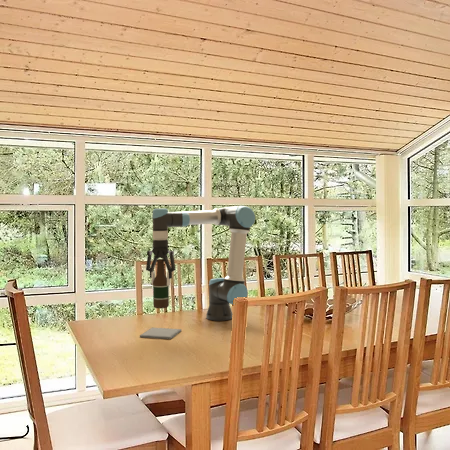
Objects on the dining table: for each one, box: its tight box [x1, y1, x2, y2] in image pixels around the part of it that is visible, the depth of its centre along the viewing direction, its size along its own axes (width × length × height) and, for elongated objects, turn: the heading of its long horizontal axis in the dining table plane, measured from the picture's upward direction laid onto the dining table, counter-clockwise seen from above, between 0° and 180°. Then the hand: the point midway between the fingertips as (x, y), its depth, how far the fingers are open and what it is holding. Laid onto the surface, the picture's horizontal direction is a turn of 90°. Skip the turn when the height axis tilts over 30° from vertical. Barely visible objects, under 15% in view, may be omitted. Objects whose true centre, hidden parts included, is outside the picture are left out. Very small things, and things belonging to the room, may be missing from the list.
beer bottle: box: [152, 258, 170, 309], centre depth 239 cm, size 8×8×24 cm
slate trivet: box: [139, 327, 182, 340], centre depth 240 cm, size 16×16×1 cm
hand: (160, 284), depth 239 cm, fingers closed on beer bottle, 7 cm apart
